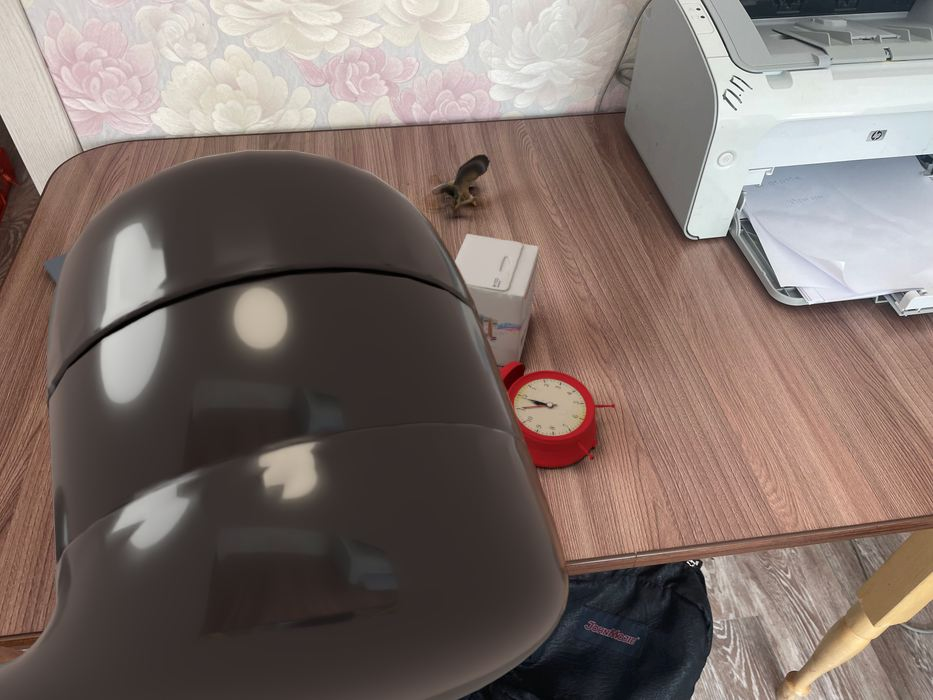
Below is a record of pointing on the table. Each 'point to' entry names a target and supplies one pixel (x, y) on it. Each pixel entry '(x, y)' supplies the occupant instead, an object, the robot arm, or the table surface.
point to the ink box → (500, 290)
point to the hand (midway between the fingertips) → (165, 313)
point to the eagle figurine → (463, 183)
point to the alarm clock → (552, 414)
